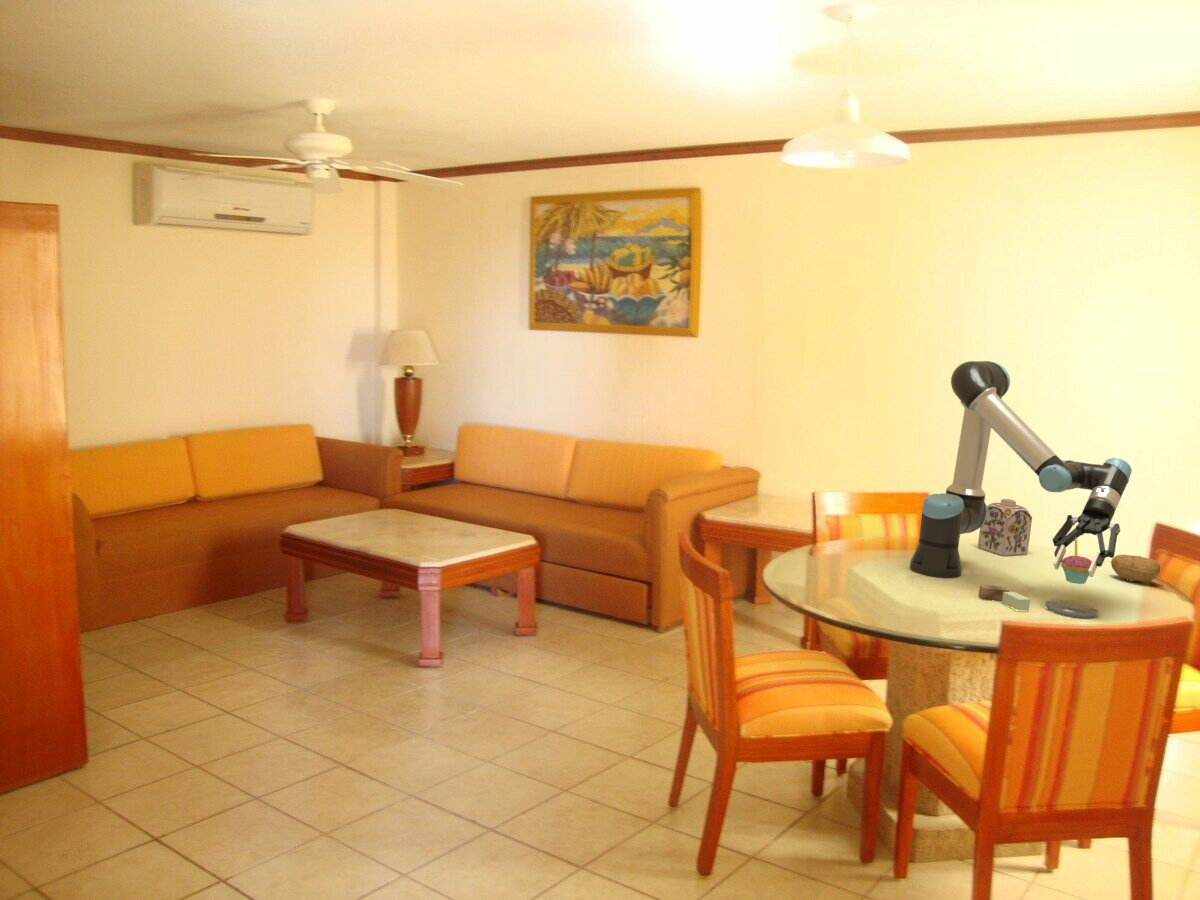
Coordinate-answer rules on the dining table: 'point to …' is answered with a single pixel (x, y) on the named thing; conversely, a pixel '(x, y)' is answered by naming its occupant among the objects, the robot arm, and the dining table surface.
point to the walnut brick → (992, 592)
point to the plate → (1071, 609)
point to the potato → (1135, 568)
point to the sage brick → (1016, 601)
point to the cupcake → (1076, 568)
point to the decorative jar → (1006, 529)
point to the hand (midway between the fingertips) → (1072, 570)
